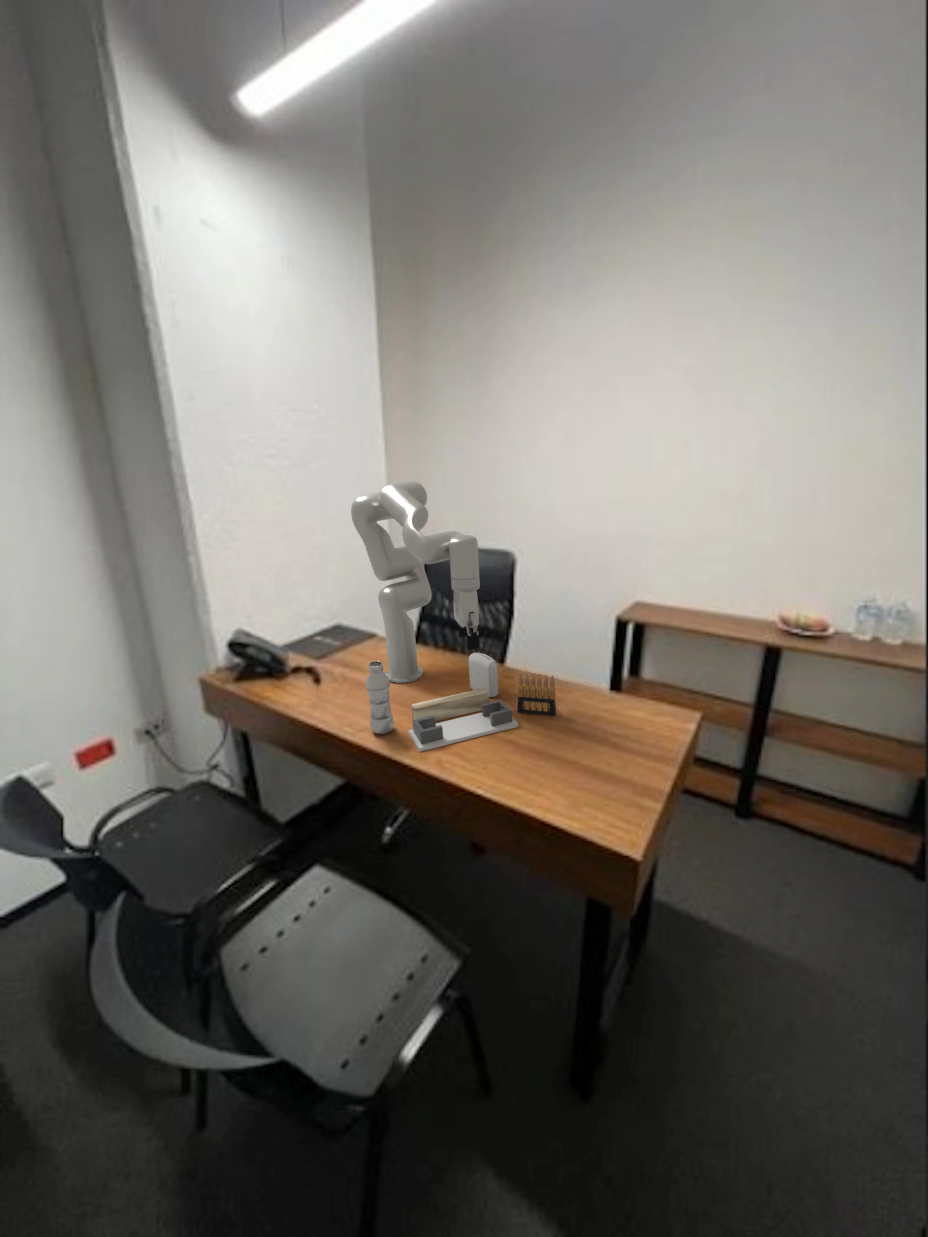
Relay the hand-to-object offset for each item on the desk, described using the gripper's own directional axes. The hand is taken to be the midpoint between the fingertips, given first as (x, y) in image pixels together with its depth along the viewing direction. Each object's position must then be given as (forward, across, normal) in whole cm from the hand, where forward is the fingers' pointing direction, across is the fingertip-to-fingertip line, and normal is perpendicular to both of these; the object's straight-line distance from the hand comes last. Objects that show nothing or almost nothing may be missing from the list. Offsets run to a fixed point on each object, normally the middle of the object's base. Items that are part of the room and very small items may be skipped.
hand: (468, 642), depth 156 cm
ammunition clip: (+22, +7, +17) cm, 28 cm away
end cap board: (+21, +9, -5) cm, 24 cm away
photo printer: (+22, -11, +6) cm, 25 cm away
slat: (+22, 0, -6) cm, 22 cm away
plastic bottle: (+21, +2, -26) cm, 34 cm away
